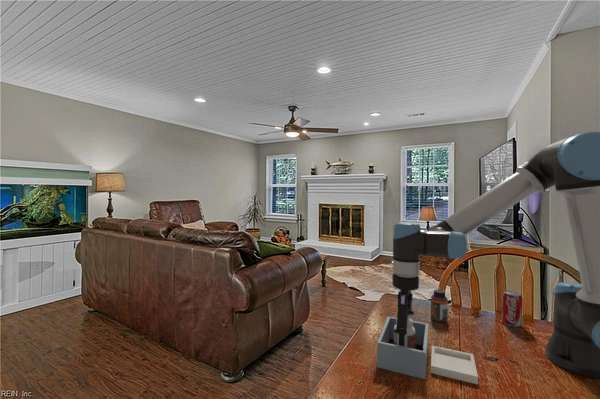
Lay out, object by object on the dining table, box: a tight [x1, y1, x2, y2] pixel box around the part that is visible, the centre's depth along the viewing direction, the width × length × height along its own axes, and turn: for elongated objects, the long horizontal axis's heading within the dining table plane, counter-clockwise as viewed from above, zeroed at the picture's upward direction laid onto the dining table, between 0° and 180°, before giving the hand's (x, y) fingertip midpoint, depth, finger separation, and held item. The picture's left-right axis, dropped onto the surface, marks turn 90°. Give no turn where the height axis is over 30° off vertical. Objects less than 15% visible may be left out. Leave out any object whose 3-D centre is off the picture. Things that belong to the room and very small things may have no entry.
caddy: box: [376, 316, 429, 381], centre depth 88 cm, size 13×20×7 cm, turn 155°
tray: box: [430, 345, 479, 385], centre depth 83 cm, size 11×12×2 cm
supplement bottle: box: [430, 289, 449, 323], centre depth 115 cm, size 6×6×11 cm
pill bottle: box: [393, 317, 416, 349], centre depth 88 cm, size 6×6×11 cm
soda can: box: [501, 290, 524, 328], centre depth 111 cm, size 6×6×12 cm
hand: (404, 344), depth 88 cm, fingers open, 13 cm apart
